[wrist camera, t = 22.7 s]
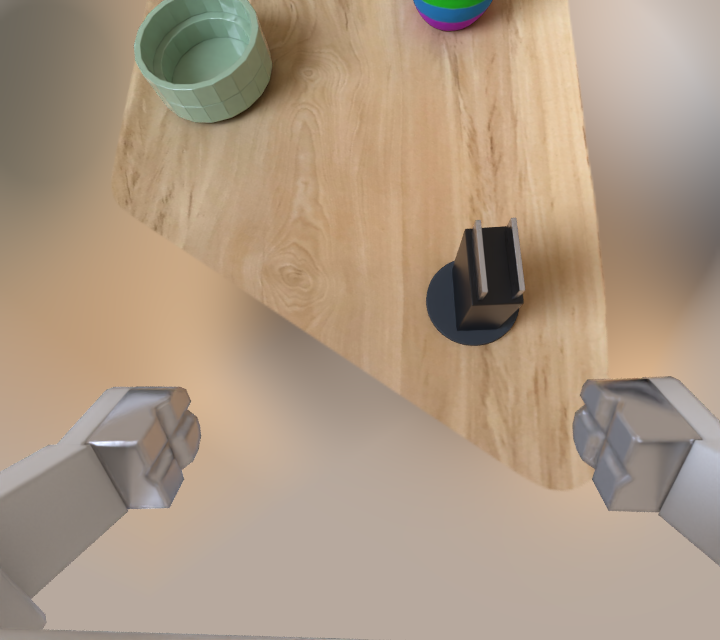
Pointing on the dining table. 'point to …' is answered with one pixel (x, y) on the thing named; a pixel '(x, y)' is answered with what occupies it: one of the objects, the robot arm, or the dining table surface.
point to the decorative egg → (451, 12)
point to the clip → (487, 277)
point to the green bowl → (204, 57)
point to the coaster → (444, 312)
